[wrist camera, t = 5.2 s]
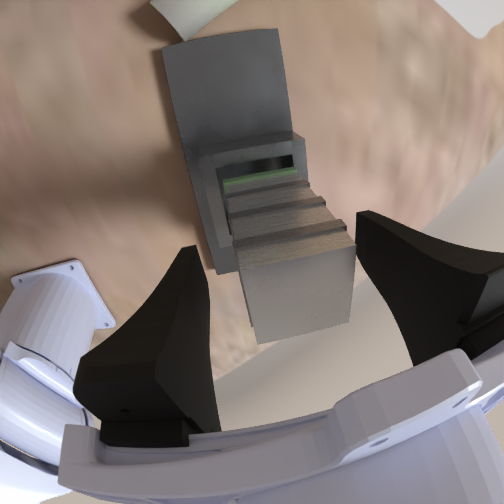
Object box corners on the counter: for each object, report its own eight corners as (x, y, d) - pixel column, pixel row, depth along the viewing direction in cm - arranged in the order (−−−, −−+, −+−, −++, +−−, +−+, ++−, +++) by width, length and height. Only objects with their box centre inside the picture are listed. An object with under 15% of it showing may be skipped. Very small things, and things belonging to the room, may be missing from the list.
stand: (216, 269, 23) (219, 304, 20) (163, 49, 14) (150, 40, 10) (300, 251, 23) (316, 283, 20) (274, 30, 14) (292, 18, 10)
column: (235, 241, 17) (255, 346, 10) (222, 179, 14) (236, 268, 8) (299, 228, 17) (351, 323, 10) (294, 166, 14) (359, 241, 8)
